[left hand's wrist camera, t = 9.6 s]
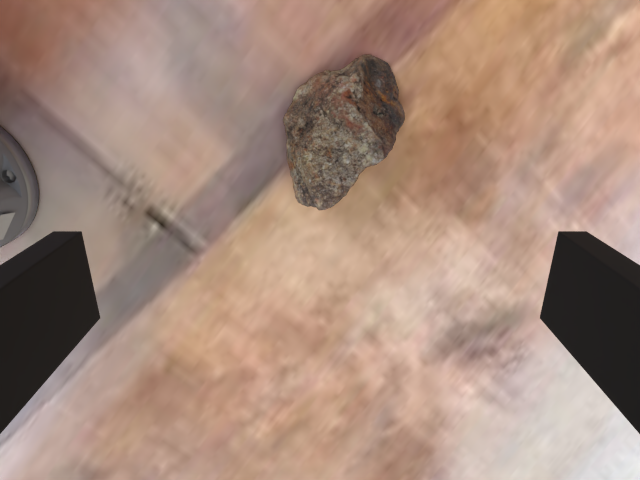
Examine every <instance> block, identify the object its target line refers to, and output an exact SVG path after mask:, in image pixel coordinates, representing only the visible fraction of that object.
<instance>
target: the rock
mask: <svg viewBox="0 0 640 480" xmlns="http://www.w3.org/2000/svg"><path fill="white" fill-rule="evenodd" d="M398 91H399V90H398V87H397V84H396V81H395V77H394V74H393V72H392V70H391V68H390V67H389V65H388V63H386V62H385V61H383V60H381V59H379V58H376V57H374V56H372V55H362V56H360V57H359V58H356V59H355V60H354V61H353V62H351V63H350V64H349V65H348V66H346V67H345V68H343V69H341V70H336V71H329V70H325V71H324V72H322V73H319V74H317V75H315V76H314V77H312V78H311V79H309V80H308V82H306V83H305V84H303V85H302V86H300V87H299V88H298V89H297V92H296V93H295V96H294V98H293V102H292V104H291V105H290V107H289V109H288V111H287V113H286V114H285V116H284V119H283V122H284V125H285V131H286V136H287V143H286V146H287V162H288V165H289V168H290V173H291V177H292V178H293V188H294V191H295V197H296V199H297V201H298V203H301V204H302V205H305V206H308V207H309V206H312V207H317V209H318V210H325V209H328V208H331V207H332V206H334V205H335V204H336V203H338V202H339V201H340V200H341V199H342V198H343V197H344V196H346V194H347V192H348V191H349V189H350V188H351V187H352V186H353V185H354V183H355V182H356V180H357V179H358V176H359V174H360V173H361V172H362V171H363V170H364V169H365V168H366V167H369V166H372V165H376V164H378V163H379V162H381V161H382V160H383V159H384V158H385V157H387V155H388V152H390V151H391V150H392V148H393V145H394V143H395V141H396V133H397V132H398V131H399V128H400V127H401V126H402V124H403V122H404V120H405V116H404V111H403V108H402V105H401V104H400V102H399V101H398Z"/></svg>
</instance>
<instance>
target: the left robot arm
mask: <svg viewBox="0 0 640 480" xmlns="http://www.w3.org/2000/svg"><path fill="white" fill-rule="evenodd" d="M38 201H39V190H38V183H37V179H36V175H35V173H34V170H33V167H32V165H31V163H30V161H29V159H28V157H27V156H26V154H25V153H24V151H23V149H22V148H21V147H20V146H19V144H18V143H17V142H16V141H15V140H14V139H13V137H12V136H11V135H10V134H8V133H7V132H6V131H5V130H4V129H3V128H2V127H0V247H2V246H4V245H5V244H7V243H9V242H10V241H12V240H14V239H16V238H17V237H19V236H20V235H21V234H23V233H24V232H25V231H26V230H27V228H28V227H29V226H30V225H31V223H32V221H33V219H34V217H35V215H36V212H37V208H38ZM99 319H100V315H99V310H98V306H97V301H96V296H95V292H94V287H93V283H92V278H91V273H90V269H89V264H88V259H87V255H86V250H85V246H84V241H83V236H82V232H52V233H51V234H49V235H47V236H46V237H44V238H43V239H41V240H40V241H38V242H36V243H35V244H33V245H32V246H30V247H28V248H27V249H25V250H24V251H22V252H21V253H19V254H17V255H16V256H14V257H13V258H11V259H10V260H8V261H6V262H5V263H3V264H2V265H0V434H1V432H2V431H3V430H4V429H5V428H6V427H7V425H8V424H9V423H10V422H11V421H12V420H13V418H14V417H15V416H16V415H17V414H18V413H19V411H20V410H21V409H22V408H23V407H24V406H25V405H26V403H27V402H28V401H29V400H30V399H31V398H32V396H33V395H34V394H35V393H36V392H37V391H38V389H39V388H40V387H41V386H42V385H43V384H44V382H45V381H46V380H47V379H48V378H49V377H50V376H51V374H52V373H53V372H54V371H55V370H56V369H57V367H58V366H59V365H60V364H61V363H62V362H63V360H64V359H65V358H66V357H67V356H68V355H69V353H70V352H71V351H72V350H73V349H74V348H75V346H76V345H77V344H78V343H79V342H80V341H81V340H82V338H83V337H84V336H85V335H86V334H87V333H88V331H89V330H90V329H91V328H92V327H93V326H94V324H95V323H96V322H97V321H98V320H99ZM540 319H541V320H542V321H543V322H544V323H545V324H546V326H547V327H548V328H549V329H550V330H551V331H552V333H553V334H554V335H555V336H556V337H557V338H558V340H559V341H560V342H561V343H562V344H563V345H564V346H565V348H566V349H567V350H568V351H569V352H570V353H571V355H572V356H573V357H574V358H575V359H576V360H577V362H578V363H579V364H580V365H581V366H582V367H583V369H584V370H585V371H586V372H587V373H588V374H589V376H590V377H591V378H592V379H593V380H594V381H595V382H596V384H597V385H598V386H599V387H600V388H601V389H602V391H603V392H604V393H605V394H606V395H607V396H608V398H609V399H610V400H611V401H612V402H613V403H614V405H615V406H616V407H617V408H618V409H619V410H620V411H621V413H622V414H623V415H624V416H625V417H626V418H627V420H628V421H629V422H630V423H631V424H632V425H633V427H634V428H635V429H636V430H637V431H638V432H639V434H640V265H638V264H637V263H635V262H634V261H632V260H630V259H629V258H627V257H626V256H624V255H623V254H621V253H619V252H618V251H616V250H615V249H613V248H612V247H610V246H608V245H607V244H605V243H604V242H602V241H600V240H599V239H597V238H596V237H594V236H593V235H591V234H589V233H588V232H558V236H557V241H556V246H555V250H554V255H553V259H552V264H551V269H550V273H549V278H548V283H547V287H546V292H545V296H544V301H543V306H542V310H541V315H540Z"/></svg>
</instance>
